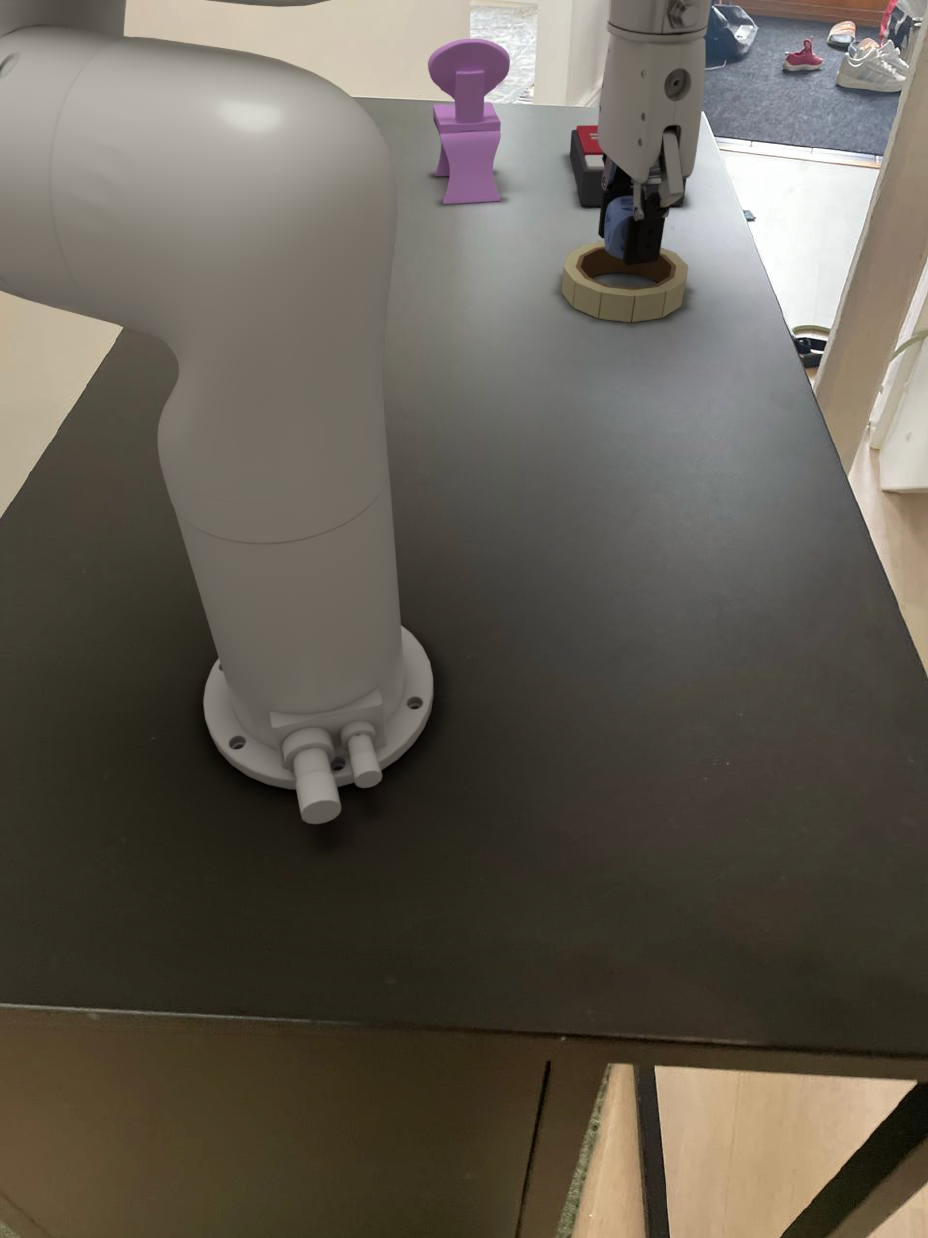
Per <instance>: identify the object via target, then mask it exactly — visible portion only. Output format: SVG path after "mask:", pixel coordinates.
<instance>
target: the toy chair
mask: <svg viewBox="0 0 928 1238" xmlns="http://www.w3.org/2000/svg"><path fill="white" fill-rule="evenodd" d="M510 58H511V57H510V55H509V53H508V51H507V50H506V49H505V48H504V47H503V46H501V45H500V44H499V43H496V42H494V41H491V40H488V39H484V38H462V39H457V40H454V41H453V40H452V41H450V42H448V43H445V44H444V45H442V46H440V47H439V48H436V50H435V51H433V52H432V53H431V55H430V56H429V58H428V62H427V70H428V73H429V77H430V79H431V81H432V82H433V83H434V84H435V85H436V87H438V88H439V89H440V91H442V92H444V93H445V94H447V95H448V96H449V97H450V98H452V99H453V100H454V104H447V103H446V104H444V103H443V104H432V110H433V111H432V112H433V113H432V116H433V117H432V118H433V123H434V126H435V127H436V130H437V132H438V135H439V139H440V145H441V146H440V153H439V159H438V164H437V166H436V169H435V173H434V175H435V177H448V178H449V179H448V183H447V184H448V185H447V188H446V191H445V194H444V198H443V200H442V203H443V205H454V204H455V205H457V204H458V205H459V204H475V203H492V202H500V201H502V199H501V196H500V193H499V190H498V188H497V184H496V181H495V176H494V162H495V156H496V154H497V150H498V148H499V144H500V141H501V137H502V135H501V127H502V126H501V120H500V118H499V116H498V115H497V111H496V110H495V108H494V105H493V103H492V102H491V101H488V102H487V101H486V102H485V97H486V96H487V95H488V94H489V93H490V92H491V91H493V90H495V89H496V88H497V86H498V85H500V84H501V83H502V82H503V81H504V80H505V79H506V77H507V76H508V74H509V71H510V68H511V67H510V66H511V59H510Z"/></svg>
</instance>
